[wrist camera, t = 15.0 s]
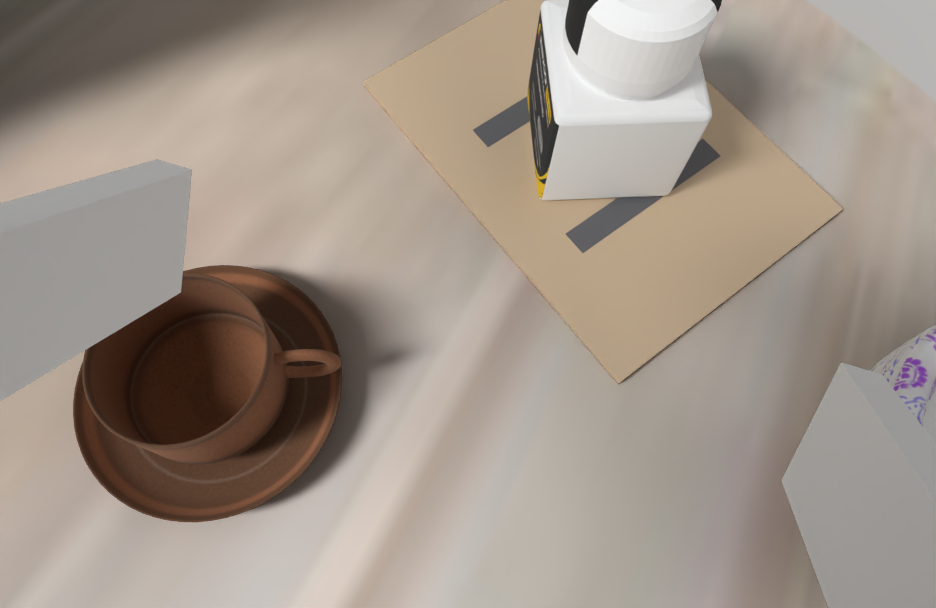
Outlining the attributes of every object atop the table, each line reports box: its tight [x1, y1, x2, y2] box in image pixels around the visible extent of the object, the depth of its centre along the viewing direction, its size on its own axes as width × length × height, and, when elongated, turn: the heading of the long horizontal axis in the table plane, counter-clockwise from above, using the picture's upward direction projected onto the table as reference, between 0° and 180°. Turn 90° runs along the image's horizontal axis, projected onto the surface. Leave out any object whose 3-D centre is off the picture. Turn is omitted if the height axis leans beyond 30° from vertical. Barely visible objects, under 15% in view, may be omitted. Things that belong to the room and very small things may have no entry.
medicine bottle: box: [527, 0, 722, 201], centre depth 34 cm, size 7×7×12 cm
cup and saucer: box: [73, 265, 342, 522], centre depth 32 cm, size 12×12×6 cm
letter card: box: [364, 0, 843, 384], centre depth 40 cm, size 22×16×1 cm
